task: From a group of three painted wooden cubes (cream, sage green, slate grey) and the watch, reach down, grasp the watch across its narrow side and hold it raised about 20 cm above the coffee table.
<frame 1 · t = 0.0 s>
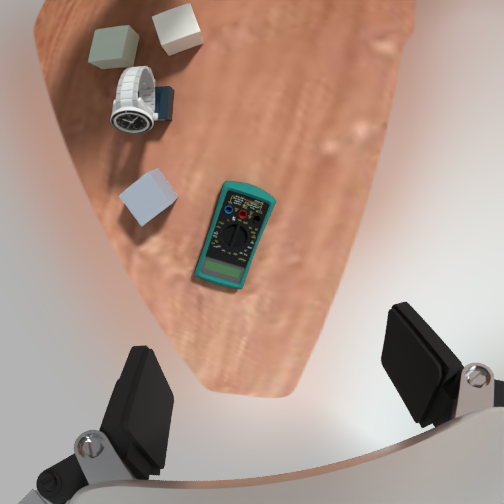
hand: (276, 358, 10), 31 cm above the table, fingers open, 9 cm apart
watch: (154, 106, 34), on the table
sage cube: (120, 52, 30), on the table
cream cube: (181, 35, 30), on the table
digital multimeter: (233, 233, 42), on the table
slate cube: (154, 192, 38), on the table
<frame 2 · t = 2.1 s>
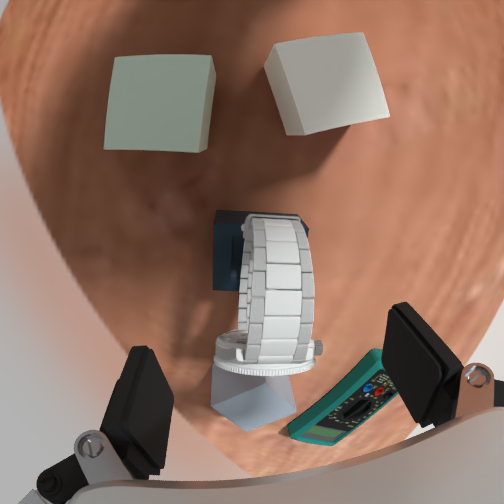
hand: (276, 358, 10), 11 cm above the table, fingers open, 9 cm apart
watch: (255, 242, 21), on the table
sage cube: (173, 109, 17), on the table
cream cube: (310, 91, 17), on the table
digital multimeter: (346, 394, 29), on the table
slate cube: (250, 368, 25), on the table
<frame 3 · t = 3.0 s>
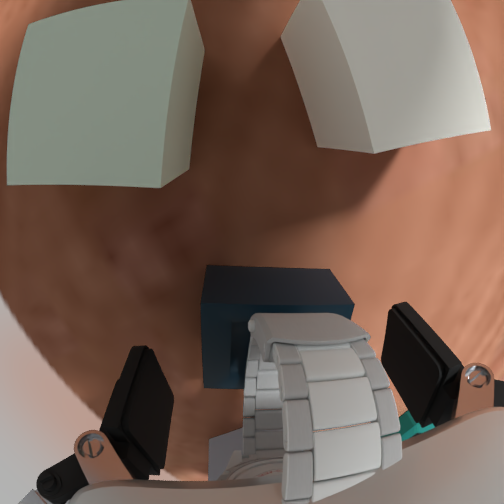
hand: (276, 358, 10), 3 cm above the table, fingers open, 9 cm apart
watch: (266, 308, 14), on the table
sage cube: (136, 106, 10), on the table
cream cube: (353, 80, 10), on the table
digital multimeter: (365, 451, 22), on the table
slate cube: (256, 441, 18), on the table
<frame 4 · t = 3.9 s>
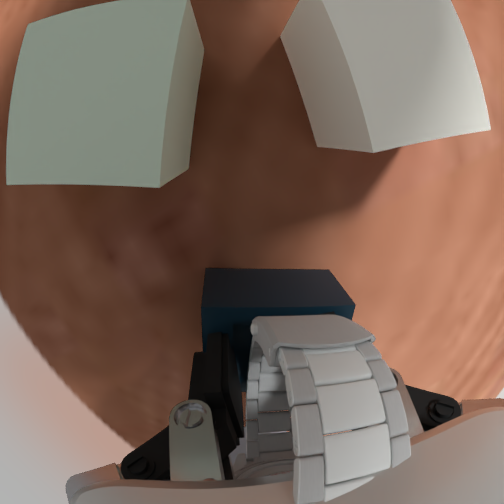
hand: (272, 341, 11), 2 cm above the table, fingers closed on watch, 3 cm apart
watch: (265, 310, 14), on the table, touching gripper
sage cube: (135, 106, 10), on the table
cream cube: (353, 79, 10), on the table
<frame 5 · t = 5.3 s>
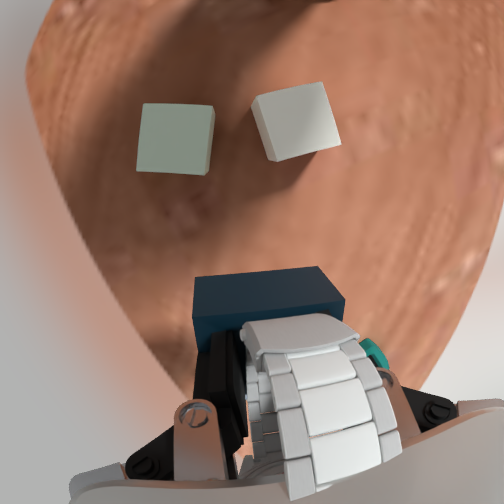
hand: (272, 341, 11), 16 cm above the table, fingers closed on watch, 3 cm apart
watch: (259, 312, 14), point 13 cm above the table, touching gripper
sage cube: (183, 140, 23), on the table
cream cube: (286, 125, 23), on the table
digital multimeter: (329, 379, 34), on the table
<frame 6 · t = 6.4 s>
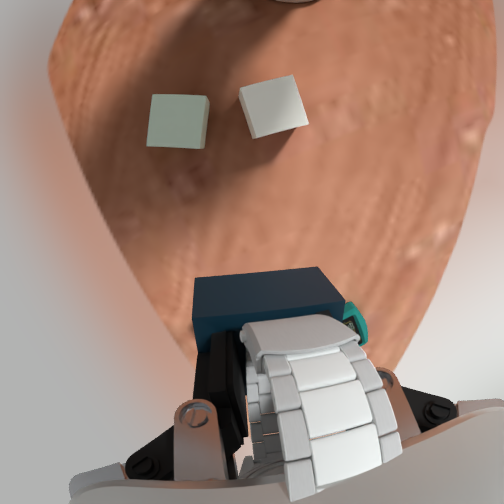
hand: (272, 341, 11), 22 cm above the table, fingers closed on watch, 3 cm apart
watch: (259, 312, 14), point 20 cm above the table, touching gripper
sage cube: (184, 124, 28), on the table
cream cube: (267, 111, 28), on the table
digital multimeter: (312, 338, 40), on the table
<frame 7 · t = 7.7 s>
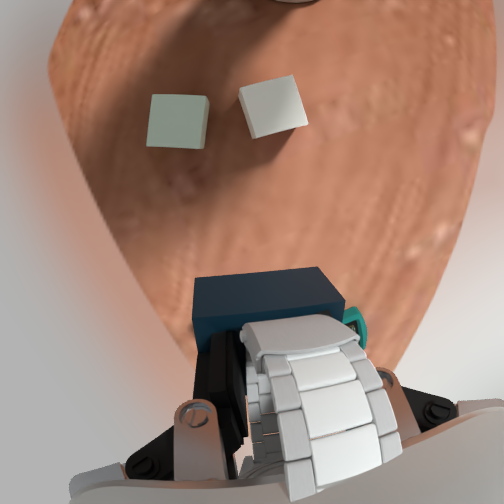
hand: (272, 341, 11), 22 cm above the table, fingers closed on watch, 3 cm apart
watch: (259, 312, 14), point 20 cm above the table, touching gripper
sage cube: (183, 124, 28), on the table
cream cube: (267, 111, 28), on the table
digital multimeter: (312, 339, 40), on the table
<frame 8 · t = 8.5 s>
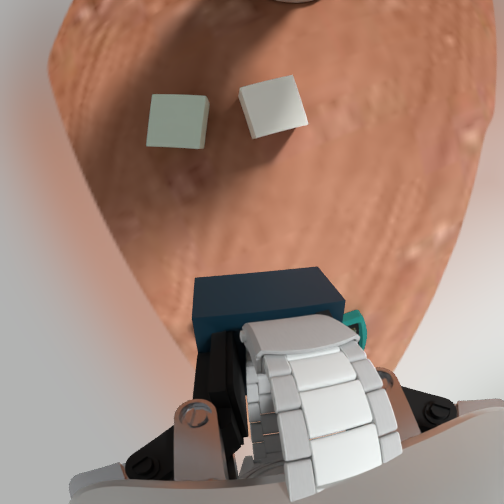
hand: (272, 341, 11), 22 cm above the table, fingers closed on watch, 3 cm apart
watch: (259, 312, 14), point 20 cm above the table, touching gripper
sage cube: (183, 124, 28), on the table
cream cube: (267, 111, 28), on the table
digital multimeter: (312, 339, 40), on the table
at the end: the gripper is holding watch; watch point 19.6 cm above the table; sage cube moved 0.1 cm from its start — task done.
